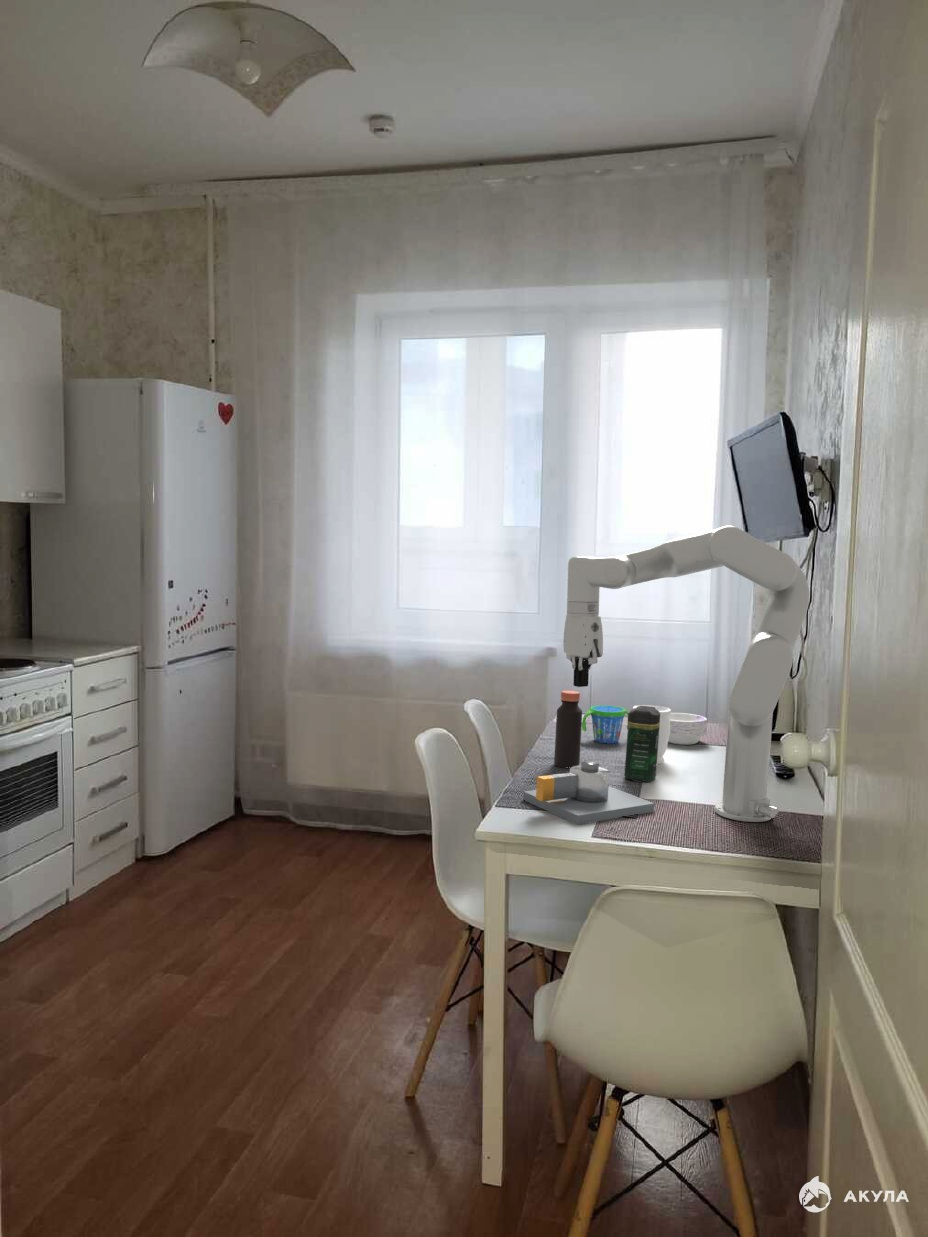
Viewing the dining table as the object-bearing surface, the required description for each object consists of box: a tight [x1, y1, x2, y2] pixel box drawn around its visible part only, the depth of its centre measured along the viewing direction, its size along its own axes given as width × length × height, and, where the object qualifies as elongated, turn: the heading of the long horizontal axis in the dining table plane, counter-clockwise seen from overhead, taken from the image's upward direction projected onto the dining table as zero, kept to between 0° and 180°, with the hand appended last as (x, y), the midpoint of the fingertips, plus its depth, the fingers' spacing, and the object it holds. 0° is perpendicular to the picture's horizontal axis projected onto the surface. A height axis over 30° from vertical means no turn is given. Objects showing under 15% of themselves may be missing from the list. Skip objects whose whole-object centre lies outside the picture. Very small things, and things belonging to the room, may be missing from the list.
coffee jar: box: [624, 706, 660, 783], centre depth 241 cm, size 10×8×19 cm
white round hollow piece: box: [668, 712, 708, 746], centre depth 287 cm, size 15×15×8 cm
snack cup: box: [581, 704, 630, 745], centre depth 283 cm, size 16×10×10 cm
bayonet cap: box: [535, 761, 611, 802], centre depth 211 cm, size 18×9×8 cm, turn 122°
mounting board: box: [522, 785, 655, 826], centre depth 214 cm, size 20×22×2 cm
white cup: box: [632, 704, 672, 765], centre depth 260 cm, size 11×10×15 cm
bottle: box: [553, 690, 583, 769], centre depth 250 cm, size 7×7×20 cm
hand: (580, 686), depth 222 cm, fingers closed
